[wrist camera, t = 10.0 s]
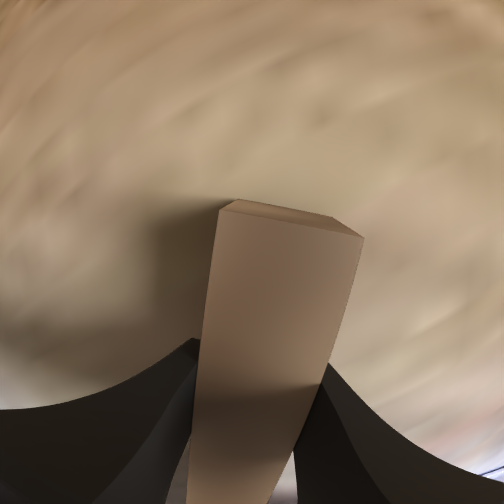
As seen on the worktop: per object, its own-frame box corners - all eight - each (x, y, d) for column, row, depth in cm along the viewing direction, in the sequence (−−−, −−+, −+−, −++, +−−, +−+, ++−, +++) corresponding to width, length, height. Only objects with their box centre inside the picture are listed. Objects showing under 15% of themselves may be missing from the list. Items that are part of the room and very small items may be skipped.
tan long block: (331, 217, 10) (364, 237, 6) (247, 497, 13) (242, 546, 10) (238, 199, 10) (219, 209, 6) (196, 488, 13) (184, 536, 10)
